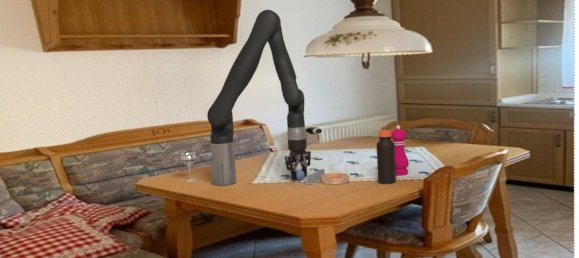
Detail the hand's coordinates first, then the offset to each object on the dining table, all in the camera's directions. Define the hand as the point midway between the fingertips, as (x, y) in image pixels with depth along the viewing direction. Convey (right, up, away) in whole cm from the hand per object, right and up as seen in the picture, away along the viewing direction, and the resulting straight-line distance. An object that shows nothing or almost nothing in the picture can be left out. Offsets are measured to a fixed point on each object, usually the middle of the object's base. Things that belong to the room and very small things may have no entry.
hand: (299, 178), depth 233 cm
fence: (+7, -1, -3) cm, 7 cm away
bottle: (+33, 0, -13) cm, 36 cm away
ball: (0, -1, 0) cm, 1 cm away
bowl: (+14, -1, -7) cm, 16 cm away
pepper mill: (+41, +2, 0) cm, 41 cm away
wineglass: (-47, -2, +14) cm, 49 cm away
